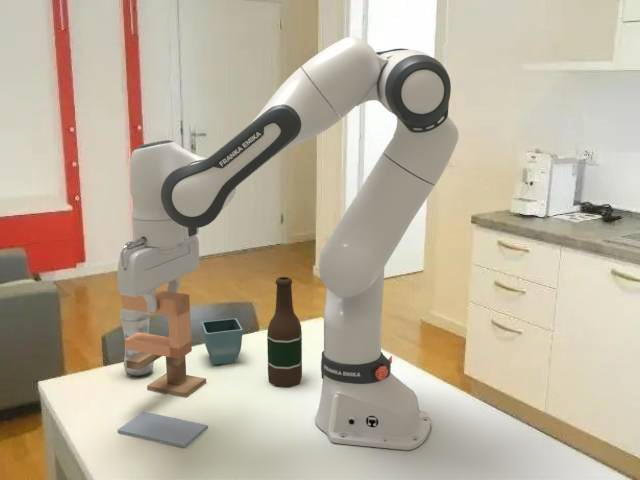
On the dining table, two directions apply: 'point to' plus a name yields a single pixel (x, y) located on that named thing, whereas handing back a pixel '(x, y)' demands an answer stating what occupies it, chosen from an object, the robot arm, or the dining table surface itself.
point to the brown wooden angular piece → (168, 375)
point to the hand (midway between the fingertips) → (162, 306)
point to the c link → (177, 319)
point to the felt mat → (163, 429)
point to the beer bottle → (284, 339)
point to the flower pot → (222, 340)
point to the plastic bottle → (131, 326)
